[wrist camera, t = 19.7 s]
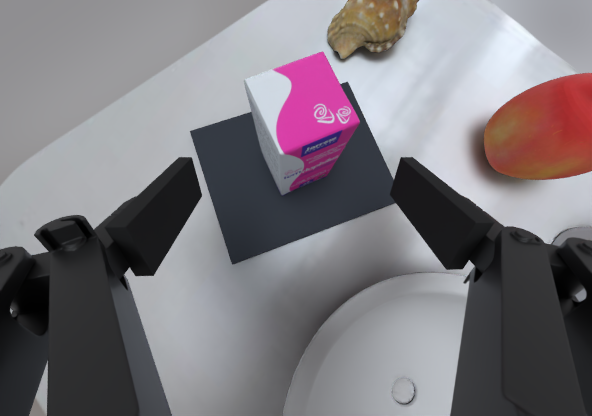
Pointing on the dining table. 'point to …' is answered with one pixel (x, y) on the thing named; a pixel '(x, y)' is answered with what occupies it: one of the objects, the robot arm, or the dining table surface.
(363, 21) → the seashell
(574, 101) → the apple
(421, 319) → the white sink basin
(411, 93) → the dining table surface
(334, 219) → the mat
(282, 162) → the supplement box
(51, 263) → the robot arm
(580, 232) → the mug
